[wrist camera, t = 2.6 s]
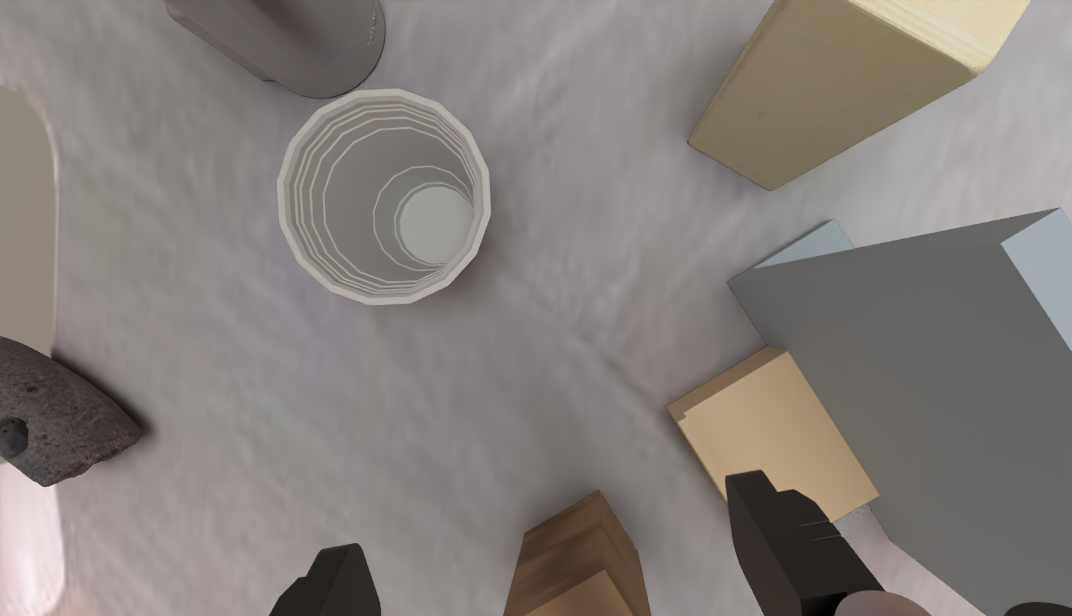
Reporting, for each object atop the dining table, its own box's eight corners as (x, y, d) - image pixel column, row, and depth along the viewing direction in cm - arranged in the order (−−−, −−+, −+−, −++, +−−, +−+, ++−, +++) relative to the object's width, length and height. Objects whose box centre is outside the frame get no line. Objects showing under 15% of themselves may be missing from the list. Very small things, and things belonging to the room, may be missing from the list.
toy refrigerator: (780, 202, 39) (1006, 85, 18) (683, 146, 39) (794, -31, 18) (846, 96, 38) (1156, -149, 18) (747, 41, 39) (934, -261, 18)
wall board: (786, 599, 39) (1181, 1186, 13) (626, 343, 40) (700, 420, 14) (995, 483, 38) (1881, 876, 12) (825, 221, 39) (1315, 56, 13)
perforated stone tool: (-19, 357, 44) (-132, 368, 37) (20, 302, 44) (-87, 302, 37) (130, 484, 43) (42, 519, 36) (171, 428, 43) (91, 453, 36)
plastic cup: (466, 334, 41) (416, 347, 29) (337, 254, 41) (236, 234, 30) (547, 199, 40) (531, 155, 28) (415, 120, 41) (344, 45, 29)
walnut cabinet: (560, 597, 40) (548, 740, 27) (522, 534, 41) (491, 646, 27) (638, 552, 40) (663, 676, 27) (599, 489, 40) (605, 581, 27)
